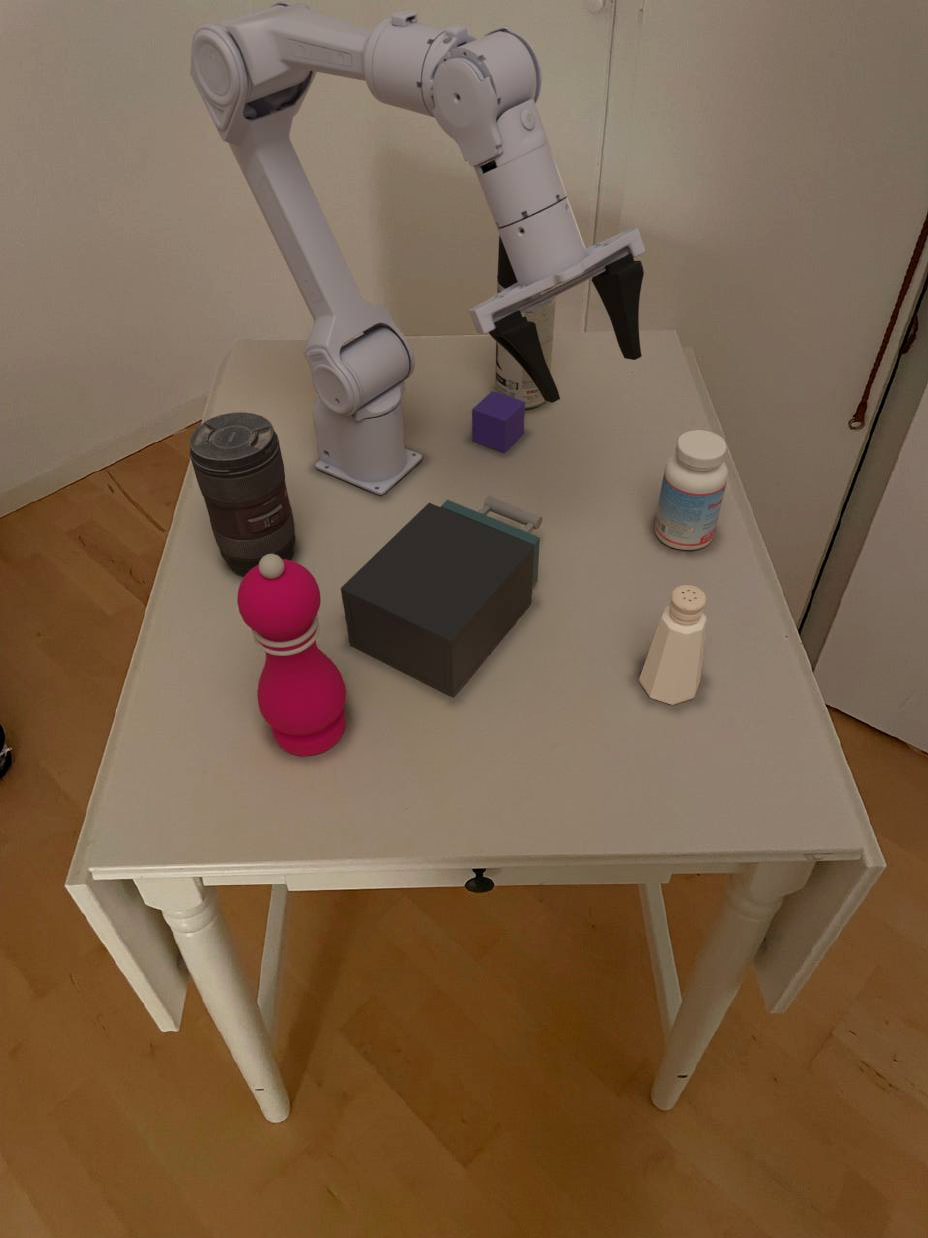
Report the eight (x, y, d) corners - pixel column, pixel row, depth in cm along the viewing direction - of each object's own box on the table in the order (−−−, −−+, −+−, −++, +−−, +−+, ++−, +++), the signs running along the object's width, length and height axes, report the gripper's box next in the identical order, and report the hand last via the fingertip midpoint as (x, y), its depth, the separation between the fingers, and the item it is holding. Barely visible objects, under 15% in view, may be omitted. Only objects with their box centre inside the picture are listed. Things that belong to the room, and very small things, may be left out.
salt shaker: (635, 658, 83) (651, 571, 75) (695, 659, 83) (718, 572, 75) (641, 705, 80) (659, 619, 72) (704, 706, 79) (729, 620, 71)
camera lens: (306, 529, 96) (283, 408, 85) (294, 584, 91) (268, 462, 80) (229, 529, 96) (197, 408, 85) (213, 583, 91) (176, 462, 80)
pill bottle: (712, 556, 92) (735, 467, 84) (651, 548, 93) (668, 459, 85) (714, 517, 96) (735, 428, 88) (655, 510, 97) (671, 422, 89)
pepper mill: (280, 773, 76) (231, 606, 61) (257, 709, 80) (206, 540, 65) (363, 744, 77) (334, 574, 63) (336, 683, 82) (304, 512, 67)
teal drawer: (472, 518, 96) (472, 474, 91) (560, 554, 92) (563, 510, 87) (375, 619, 86) (369, 575, 82) (468, 664, 82) (467, 620, 78)
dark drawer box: (432, 560, 93) (429, 502, 87) (531, 604, 88) (534, 545, 83) (349, 645, 85) (340, 588, 79) (453, 698, 81) (451, 641, 75)
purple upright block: (472, 441, 106) (471, 409, 103) (492, 422, 109) (492, 390, 105) (504, 453, 105) (505, 421, 101) (524, 433, 107) (525, 401, 104)
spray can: (498, 378, 115) (500, 219, 100) (552, 381, 114) (562, 222, 100) (492, 408, 111) (493, 246, 96) (548, 412, 110) (558, 249, 95)
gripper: (462, 252, 65) (532, 425, 71) (637, 165, 66) (692, 341, 72) (438, 255, 72) (504, 413, 77) (598, 175, 73) (652, 336, 78)
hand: (592, 378), depth 75 cm, fingers open, 7 cm apart
